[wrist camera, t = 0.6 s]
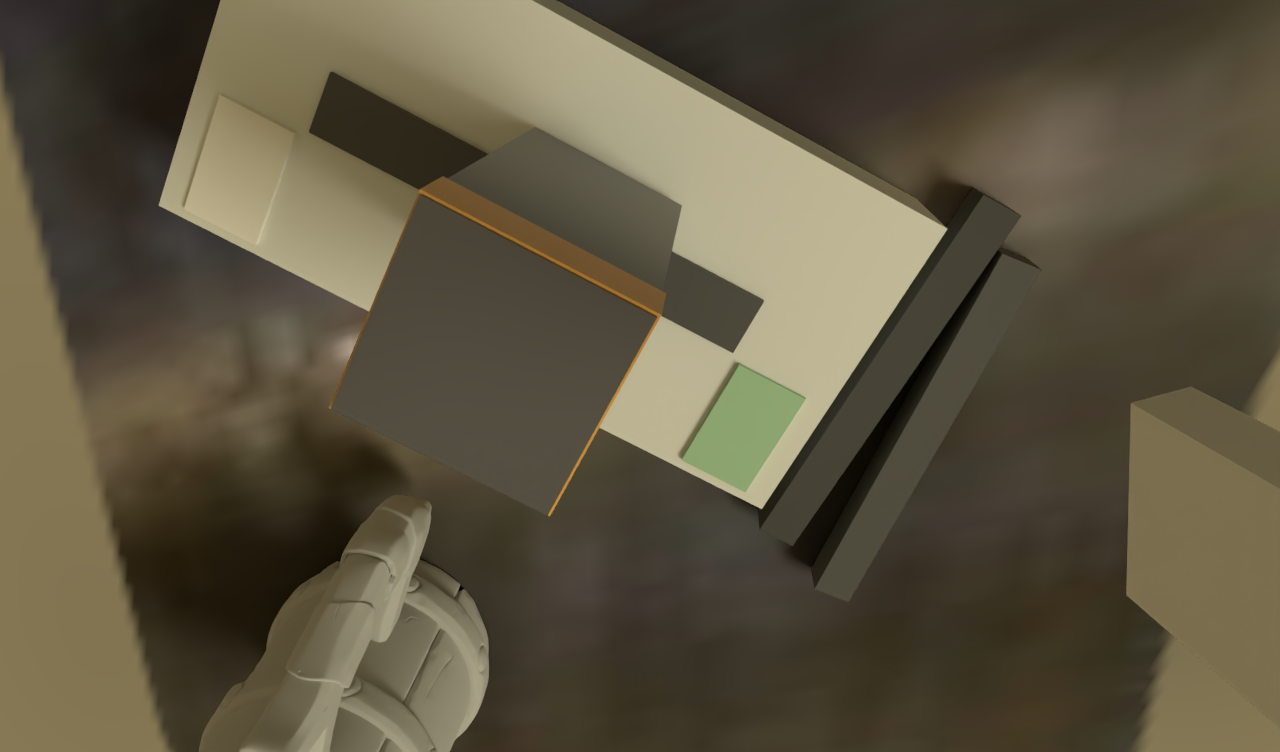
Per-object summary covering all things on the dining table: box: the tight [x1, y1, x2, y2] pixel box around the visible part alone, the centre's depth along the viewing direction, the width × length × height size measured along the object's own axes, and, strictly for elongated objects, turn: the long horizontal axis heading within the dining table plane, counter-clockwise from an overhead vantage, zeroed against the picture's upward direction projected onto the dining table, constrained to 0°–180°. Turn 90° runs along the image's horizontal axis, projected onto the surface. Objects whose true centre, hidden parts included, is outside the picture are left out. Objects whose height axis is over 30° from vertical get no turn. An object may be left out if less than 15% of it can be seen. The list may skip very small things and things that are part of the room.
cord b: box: [811, 247, 1042, 602], centre depth 28 cm, size 12×1×1 cm, turn 159°
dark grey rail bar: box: [758, 187, 1021, 546], centre depth 27 cm, size 12×1×1 cm, turn 153°
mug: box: [199, 495, 489, 752], centre depth 27 cm, size 8×12×12 cm, turn 163°
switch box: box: [159, 0, 947, 509], centre depth 25 cm, size 9×18×4 cm, turn 63°
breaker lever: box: [329, 127, 682, 516], centre depth 19 cm, size 4×4×9 cm
